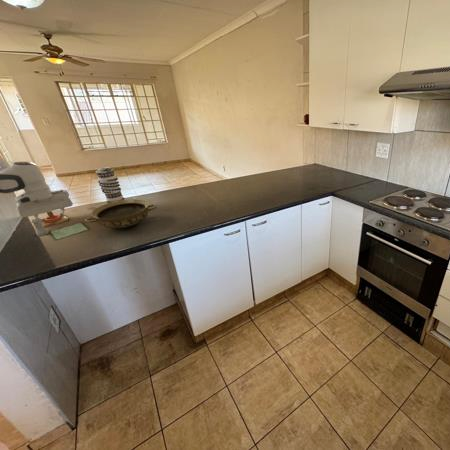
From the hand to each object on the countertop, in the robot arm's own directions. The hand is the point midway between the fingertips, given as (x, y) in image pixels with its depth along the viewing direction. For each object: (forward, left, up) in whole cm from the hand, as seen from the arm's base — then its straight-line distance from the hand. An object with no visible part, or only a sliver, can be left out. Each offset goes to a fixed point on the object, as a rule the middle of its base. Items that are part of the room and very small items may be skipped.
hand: (52, 219), depth 130 cm
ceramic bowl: (+22, -36, -2) cm, 42 cm away
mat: (+2, -20, -2) cm, 20 cm away
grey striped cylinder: (+27, -11, -2) cm, 29 cm away
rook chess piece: (-6, -13, -2) cm, 15 cm away
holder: (0, 0, -2) cm, 2 cm away
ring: (0, 0, 0) cm, 0 cm away
